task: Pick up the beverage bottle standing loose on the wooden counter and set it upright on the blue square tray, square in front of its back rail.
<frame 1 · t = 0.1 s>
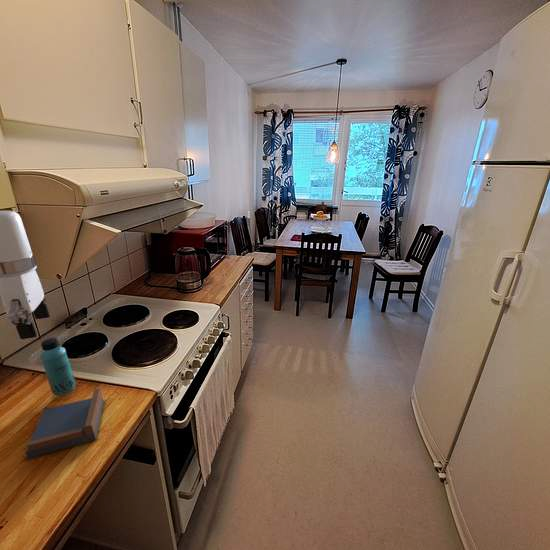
hand: (36, 327, 73), 30 cm above the worktop, tool pointing down, fingers open, 9 cm apart
blue square tray: (70, 427, 81), on the worktop
beverage bottle: (66, 392, 93), on the worktop
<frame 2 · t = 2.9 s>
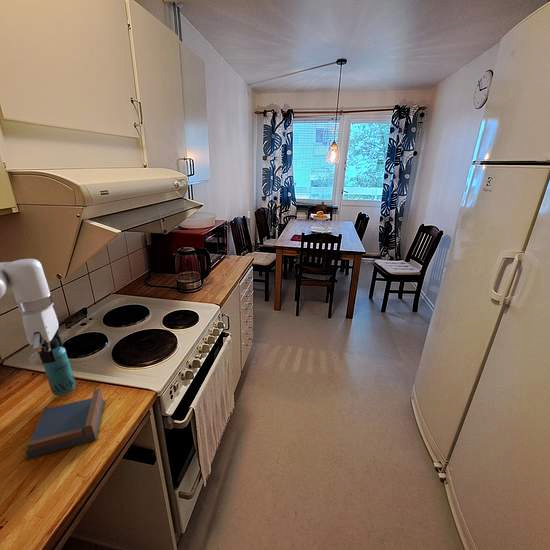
hand: (53, 354, 87), 15 cm above the worktop, tool pointing down, fingers closed on beverage bottle, 6 cm apart
beverage bottle: (66, 392, 93), on the worktop, touching gripper
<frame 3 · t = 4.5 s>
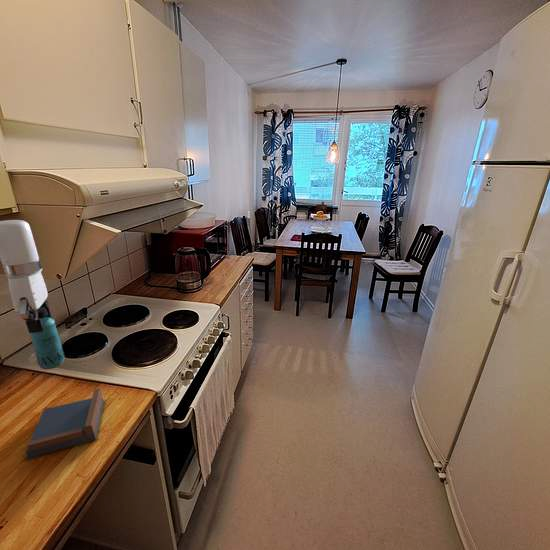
hand: (41, 324, 82), 26 cm above the worktop, tool pointing down, fingers closed on beverage bottle, 6 cm apart
beverage bottle: (54, 367, 88), point 10 cm above the worktop, touching gripper
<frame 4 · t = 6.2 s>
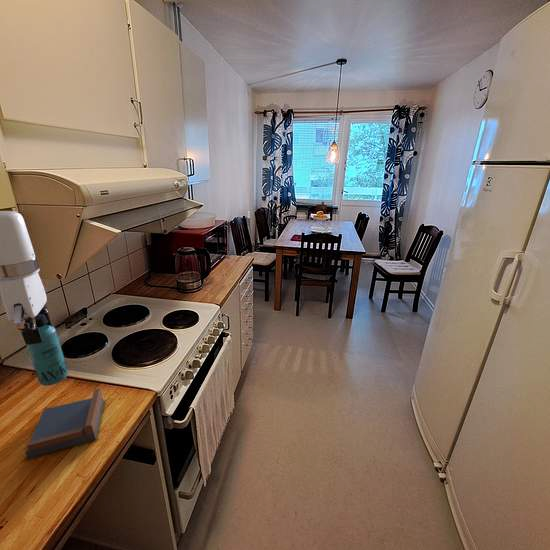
hand: (39, 334, 71), 30 cm above the worktop, tool pointing down, fingers closed on beverage bottle, 6 cm apart
beverage bottle: (56, 382, 76), point 15 cm above the worktop, touching gripper
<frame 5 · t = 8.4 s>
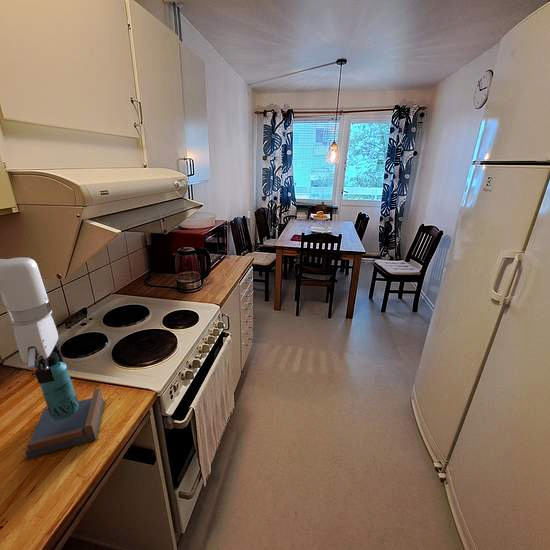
hand: (51, 371, 73), 20 cm above the worktop, tool pointing down, fingers closed on beverage bottle, 6 cm apart
beverage bottle: (67, 415, 79), point 5 cm above the worktop, touching gripper
when the fingers open (18 cm above the worktop, at t = 9.7 s): beverage bottle stays where it is, resting on blue square tray.
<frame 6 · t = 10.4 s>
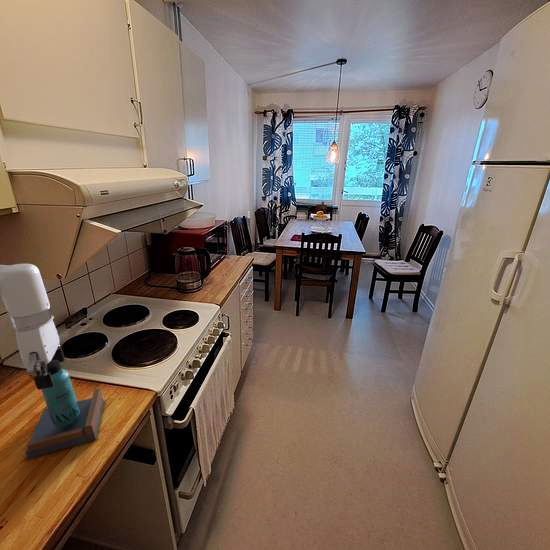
hand: (52, 374, 73), 19 cm above the worktop, tool pointing down, fingers open, 9 cm apart
beverage bottle: (69, 422, 80), point 2 cm above the worktop, touching blue square tray
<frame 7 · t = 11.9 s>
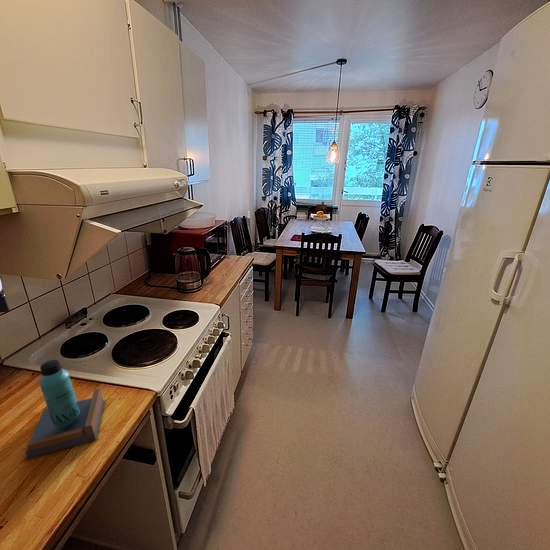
nothing on the worktop moved.
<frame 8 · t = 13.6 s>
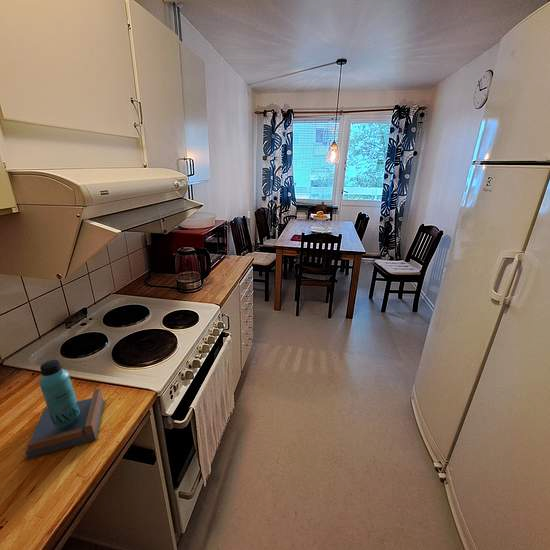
nothing on the worktop moved.
at the end: beverage bottle inside the target area on the blue square tray (0.5 cm from its centre), point 2.3 cm above the blue square tray's base; beverage bottle tilted 0°; the gripper is holding nothing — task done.
